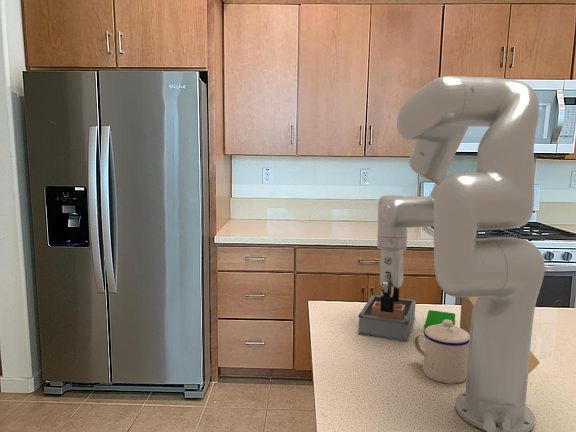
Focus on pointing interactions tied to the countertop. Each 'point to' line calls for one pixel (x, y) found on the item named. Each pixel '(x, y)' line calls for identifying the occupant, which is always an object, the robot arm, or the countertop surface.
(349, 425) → the countertop surface
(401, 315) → the box
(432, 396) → the countertop surface
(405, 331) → the big crate
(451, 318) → the dish sponge
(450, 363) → the teacup with lid
